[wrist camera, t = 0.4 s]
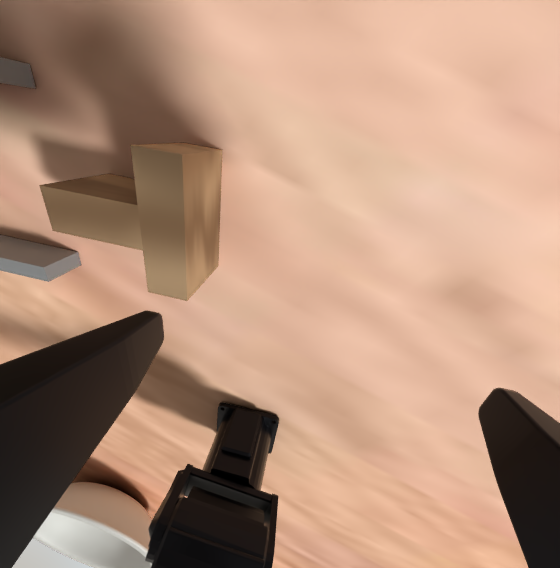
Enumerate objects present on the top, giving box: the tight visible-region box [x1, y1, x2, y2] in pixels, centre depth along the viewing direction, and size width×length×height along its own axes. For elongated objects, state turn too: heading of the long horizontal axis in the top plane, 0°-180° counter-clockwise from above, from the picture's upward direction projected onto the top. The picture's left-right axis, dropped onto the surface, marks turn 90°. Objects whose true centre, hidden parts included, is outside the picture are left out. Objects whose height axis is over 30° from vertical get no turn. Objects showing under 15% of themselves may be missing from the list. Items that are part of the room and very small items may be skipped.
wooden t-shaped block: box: [40, 143, 222, 301], centre depth 16 cm, size 8×8×5 cm
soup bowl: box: [33, 482, 152, 568], centre depth 43 cm, size 24×24×7 cm
